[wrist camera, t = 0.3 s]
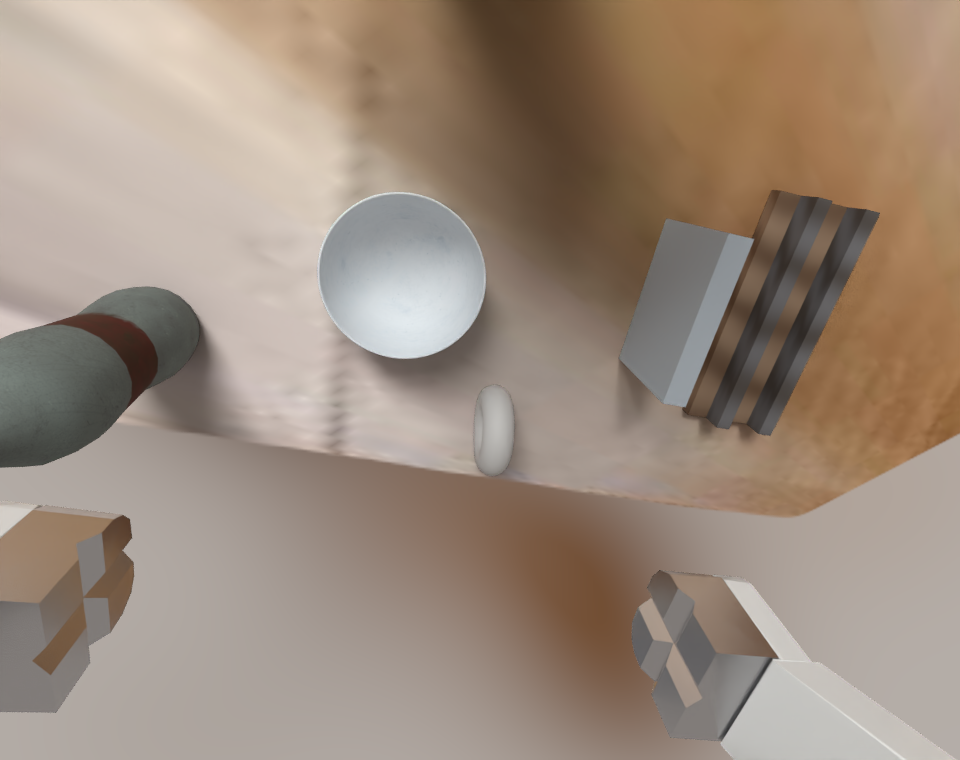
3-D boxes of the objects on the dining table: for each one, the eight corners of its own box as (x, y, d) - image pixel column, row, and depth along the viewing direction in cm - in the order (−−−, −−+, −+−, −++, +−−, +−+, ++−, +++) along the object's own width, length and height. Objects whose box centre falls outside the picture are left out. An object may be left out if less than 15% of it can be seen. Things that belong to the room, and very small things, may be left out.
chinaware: (498, 304, 54) (508, 325, 47) (371, 353, 55) (363, 381, 48) (446, 163, 48) (449, 163, 41) (305, 221, 49) (284, 231, 42)
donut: (497, 446, 62) (509, 495, 53) (469, 445, 61) (476, 494, 52) (507, 371, 58) (522, 410, 49) (477, 369, 57) (487, 408, 48)
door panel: (666, 218, 53) (729, 233, 42) (691, 224, 53) (760, 240, 42) (618, 358, 59) (662, 403, 48) (642, 362, 59) (691, 408, 48)
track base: (771, 189, 52) (797, 192, 49) (868, 214, 54) (900, 217, 51) (682, 409, 62) (698, 424, 58) (767, 422, 64) (787, 438, 60)
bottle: (120, 265, 49) (-266, 394, 22) (216, 301, 52) (-25, 459, 24) (104, 348, 52) (-252, 552, 25) (195, 378, 55) (-39, 596, 27)
